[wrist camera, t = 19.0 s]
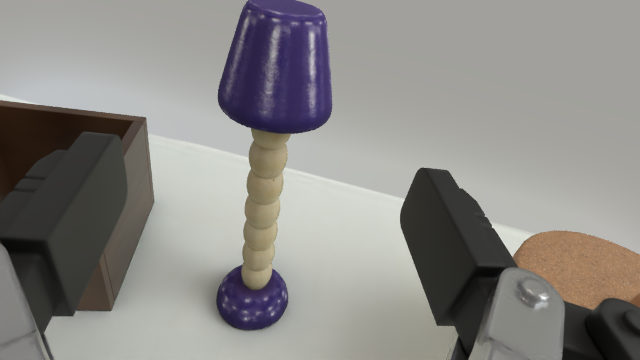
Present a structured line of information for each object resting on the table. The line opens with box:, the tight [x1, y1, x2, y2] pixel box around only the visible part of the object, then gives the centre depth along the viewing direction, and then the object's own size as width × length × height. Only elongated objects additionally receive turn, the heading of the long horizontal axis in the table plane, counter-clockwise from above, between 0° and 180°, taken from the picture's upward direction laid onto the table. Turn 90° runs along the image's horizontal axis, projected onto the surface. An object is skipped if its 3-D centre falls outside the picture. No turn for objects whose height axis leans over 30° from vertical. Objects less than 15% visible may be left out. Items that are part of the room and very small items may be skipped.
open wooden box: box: [0, 101, 154, 311], centre depth 21 cm, size 9×9×7 cm
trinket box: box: [512, 231, 640, 310], centre depth 19 cm, size 11×11×9 cm
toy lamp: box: [216, 0, 332, 330], centre depth 18 cm, size 5×5×17 cm
